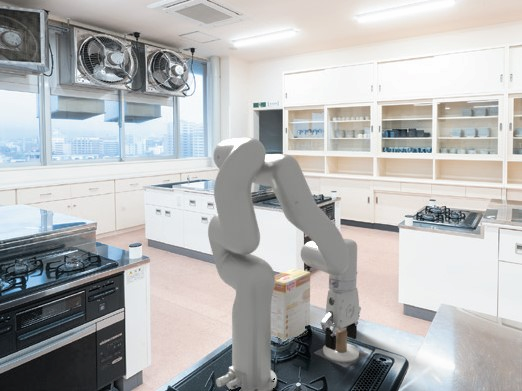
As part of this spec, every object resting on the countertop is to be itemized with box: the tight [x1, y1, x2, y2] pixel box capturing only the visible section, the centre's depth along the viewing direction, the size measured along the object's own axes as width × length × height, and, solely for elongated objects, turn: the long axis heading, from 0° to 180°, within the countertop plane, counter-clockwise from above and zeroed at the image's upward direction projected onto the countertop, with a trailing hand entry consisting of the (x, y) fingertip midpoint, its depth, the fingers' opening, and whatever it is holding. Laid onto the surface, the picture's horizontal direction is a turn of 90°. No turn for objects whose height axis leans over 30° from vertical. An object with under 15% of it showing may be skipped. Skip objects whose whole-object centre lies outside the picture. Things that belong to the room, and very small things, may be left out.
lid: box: [322, 329, 360, 362], centre depth 113 cm, size 10×10×6 cm
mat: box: [313, 347, 369, 368], centre depth 114 cm, size 11×11×1 cm
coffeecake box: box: [271, 268, 311, 340], centre depth 125 cm, size 15×7×20 cm, turn 142°
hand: (341, 342), depth 113 cm, fingers open, 9 cm apart
